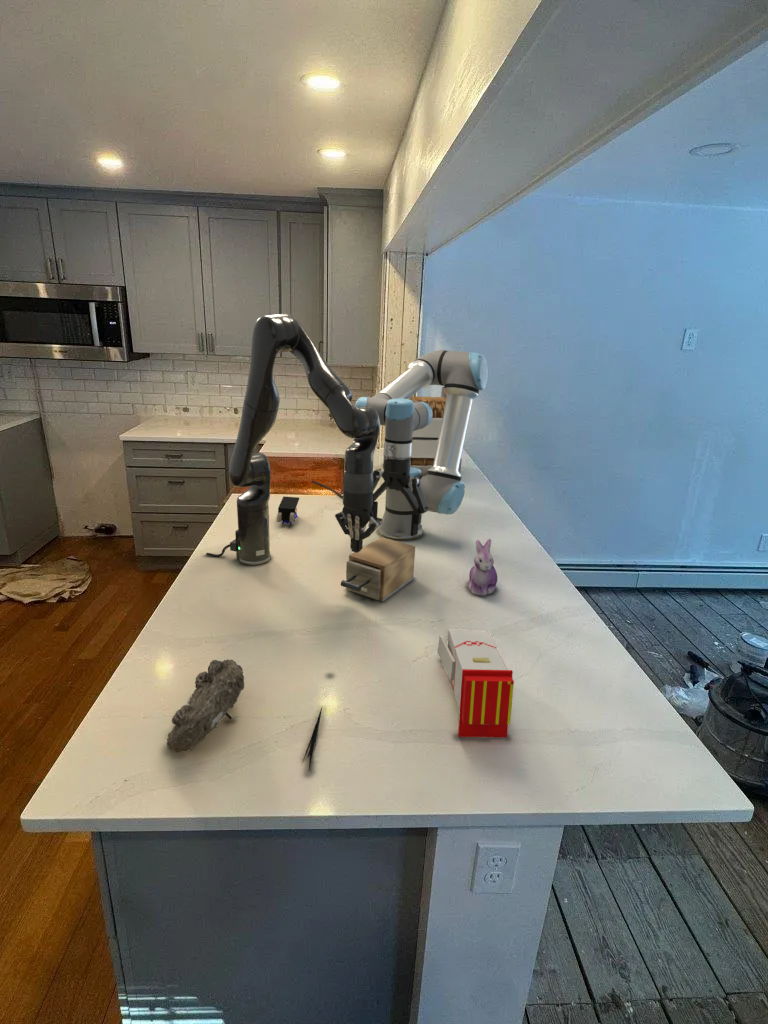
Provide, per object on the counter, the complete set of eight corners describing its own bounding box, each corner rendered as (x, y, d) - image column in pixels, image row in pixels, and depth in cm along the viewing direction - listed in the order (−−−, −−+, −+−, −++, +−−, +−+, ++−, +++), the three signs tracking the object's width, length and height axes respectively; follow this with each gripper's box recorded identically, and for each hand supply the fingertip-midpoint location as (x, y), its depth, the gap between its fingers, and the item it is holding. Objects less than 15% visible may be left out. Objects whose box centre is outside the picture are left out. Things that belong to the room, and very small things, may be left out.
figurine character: (295, 532, 200) (300, 513, 214) (294, 513, 197) (299, 495, 210) (276, 531, 200) (282, 512, 213) (275, 512, 197) (281, 494, 210)
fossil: (192, 660, 117) (244, 628, 112) (224, 691, 120) (276, 661, 115) (142, 746, 98) (202, 712, 93) (182, 779, 101) (242, 748, 96)
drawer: (365, 609, 147) (366, 580, 144) (332, 597, 152) (333, 569, 149) (406, 579, 164) (408, 552, 162) (376, 569, 170) (377, 543, 167)
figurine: (479, 599, 156) (485, 549, 151) (458, 584, 165) (463, 536, 160) (506, 593, 161) (512, 544, 155) (484, 578, 169) (490, 531, 164)
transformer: (382, 463, 289) (386, 382, 275) (445, 464, 293) (451, 384, 279) (390, 482, 257) (394, 392, 243) (460, 483, 261) (468, 394, 247)
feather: (331, 679, 122) (336, 673, 122) (307, 777, 96) (313, 769, 95) (324, 675, 122) (329, 669, 121) (298, 772, 95) (304, 764, 95)
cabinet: (383, 601, 154) (384, 566, 150) (348, 589, 159) (348, 555, 156) (413, 578, 167) (415, 546, 164) (380, 568, 173) (381, 536, 169)
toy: (488, 613, 130) (523, 677, 101) (484, 667, 133) (517, 744, 104) (435, 612, 130) (455, 676, 101) (432, 666, 133) (451, 743, 103)
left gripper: (327, 486, 142) (327, 549, 147) (372, 496, 135) (369, 562, 141) (345, 479, 148) (344, 540, 153) (388, 489, 141) (385, 553, 147)
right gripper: (352, 451, 158) (350, 522, 165) (431, 467, 146) (425, 543, 153) (367, 447, 164) (364, 516, 171) (444, 461, 152) (438, 535, 159)
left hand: (356, 551), depth 147 cm, fingers closed
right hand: (393, 529), depth 162 cm, fingers open, 13 cm apart
